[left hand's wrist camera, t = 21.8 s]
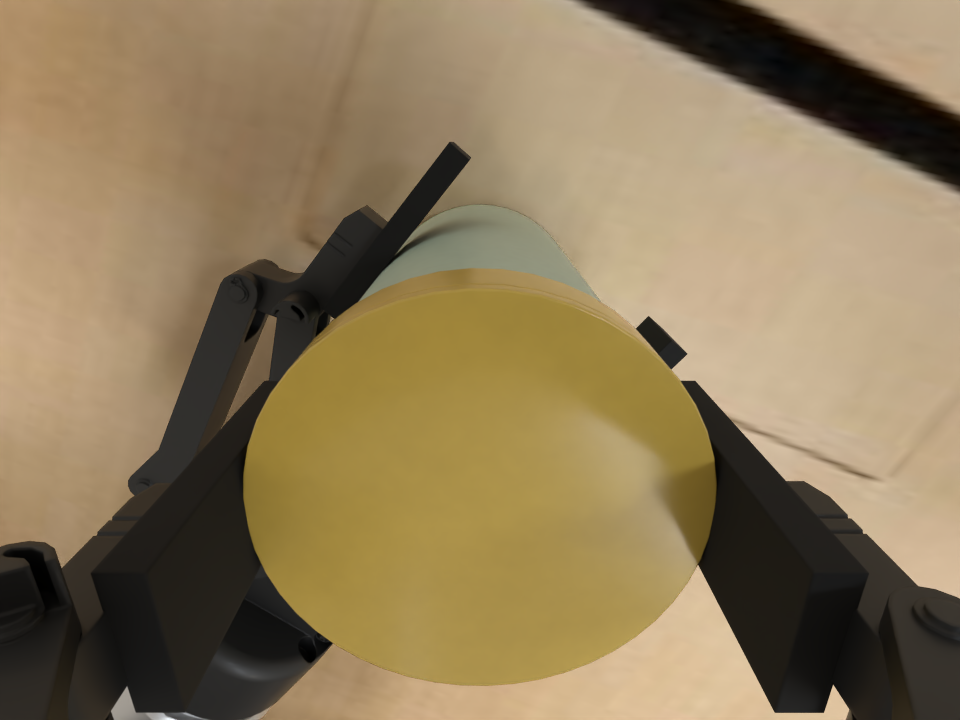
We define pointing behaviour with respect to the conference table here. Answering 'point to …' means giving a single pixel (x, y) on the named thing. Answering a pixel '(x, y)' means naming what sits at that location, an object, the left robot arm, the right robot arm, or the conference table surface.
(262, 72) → the conference table surface
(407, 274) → the jar
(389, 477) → the lid
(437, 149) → the conference table surface
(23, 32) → the conference table surface
